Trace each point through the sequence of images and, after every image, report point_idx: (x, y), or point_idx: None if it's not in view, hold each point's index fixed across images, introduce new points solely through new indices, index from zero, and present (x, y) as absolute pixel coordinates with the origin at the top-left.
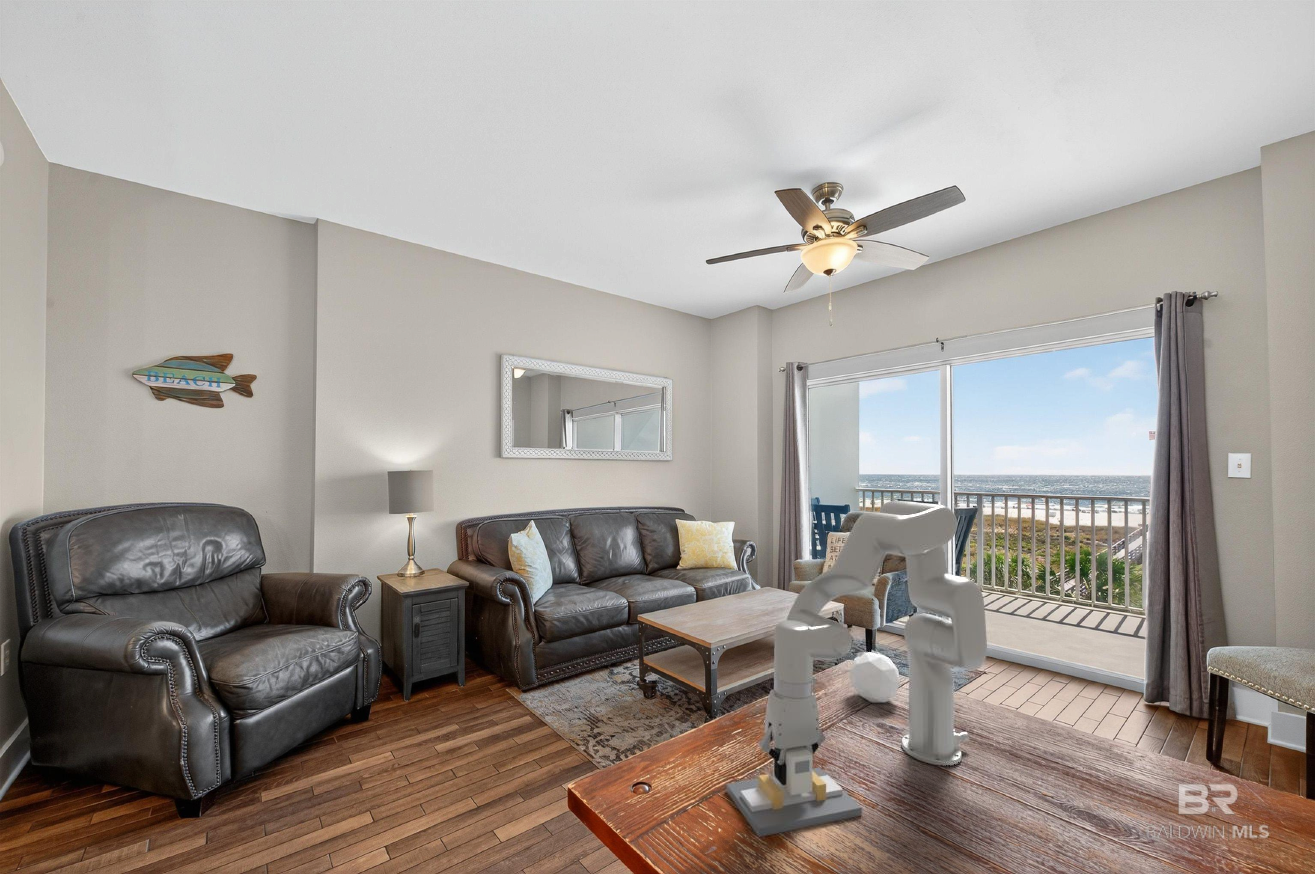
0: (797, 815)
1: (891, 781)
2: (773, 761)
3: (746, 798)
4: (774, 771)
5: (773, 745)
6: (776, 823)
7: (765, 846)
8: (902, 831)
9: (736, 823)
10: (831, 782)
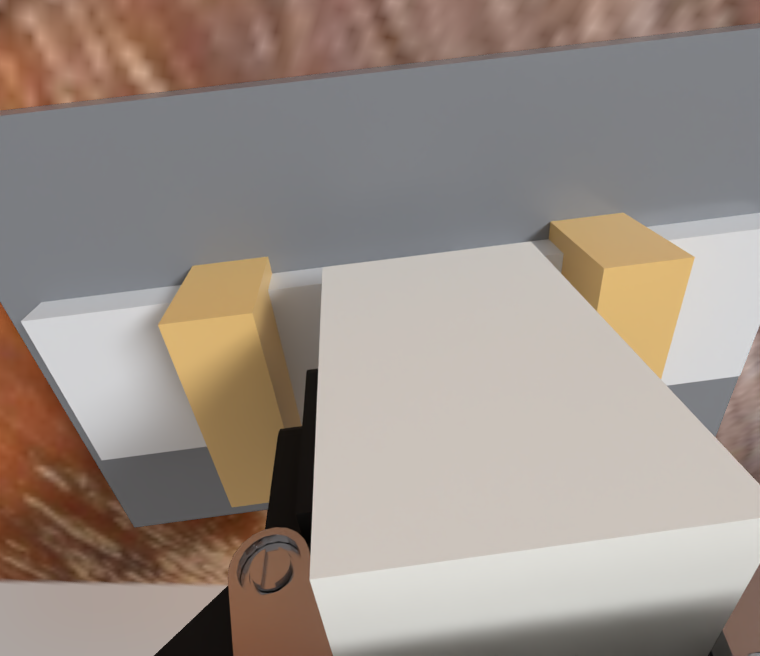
0: None
1: None
2: (319, 340)
3: (66, 397)
4: (278, 449)
5: (313, 484)
6: (232, 508)
7: (168, 530)
8: None
9: (37, 418)
10: (739, 306)
